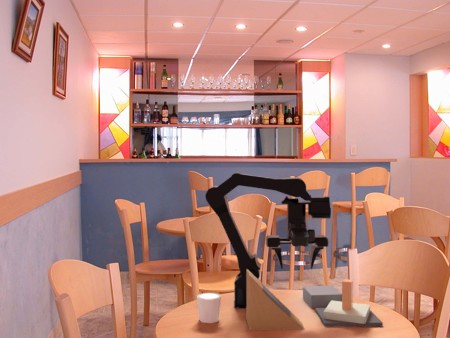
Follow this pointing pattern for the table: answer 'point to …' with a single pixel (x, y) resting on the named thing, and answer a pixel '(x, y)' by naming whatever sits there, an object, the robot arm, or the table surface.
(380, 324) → the mat
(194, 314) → the table surface
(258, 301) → the sandwich container
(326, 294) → the grey square block
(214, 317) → the white cup
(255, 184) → the robot arm
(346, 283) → the lid
